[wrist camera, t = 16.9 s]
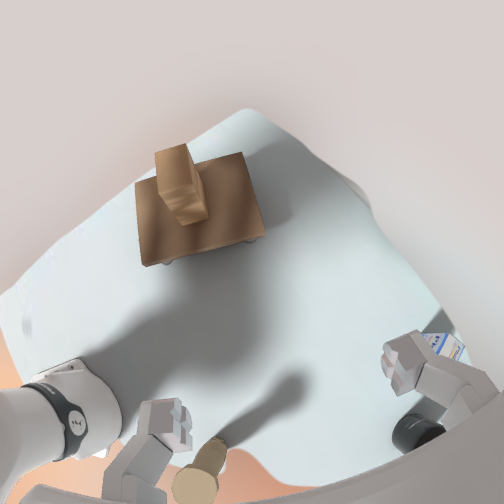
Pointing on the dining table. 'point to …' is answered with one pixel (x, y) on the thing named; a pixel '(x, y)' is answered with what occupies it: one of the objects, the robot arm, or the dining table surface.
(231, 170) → the walnut shelf
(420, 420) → the supplement bottle
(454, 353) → the medicine box
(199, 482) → the handle
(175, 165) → the ochre block
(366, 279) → the dining table surface
